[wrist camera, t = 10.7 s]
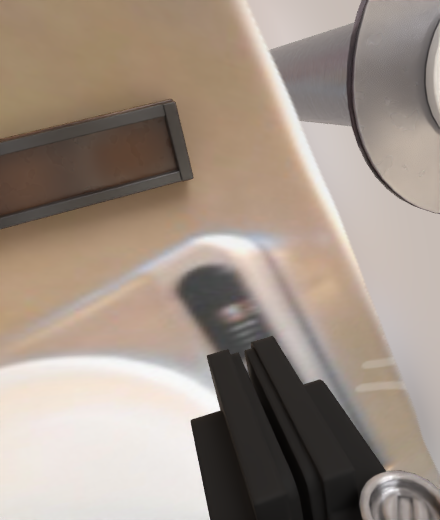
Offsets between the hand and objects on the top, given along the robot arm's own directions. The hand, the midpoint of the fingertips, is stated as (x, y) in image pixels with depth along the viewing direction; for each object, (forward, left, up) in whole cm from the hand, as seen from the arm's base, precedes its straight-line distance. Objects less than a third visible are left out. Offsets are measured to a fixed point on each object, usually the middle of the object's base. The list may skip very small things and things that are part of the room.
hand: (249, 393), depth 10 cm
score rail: (+7, -9, -22) cm, 24 cm away
